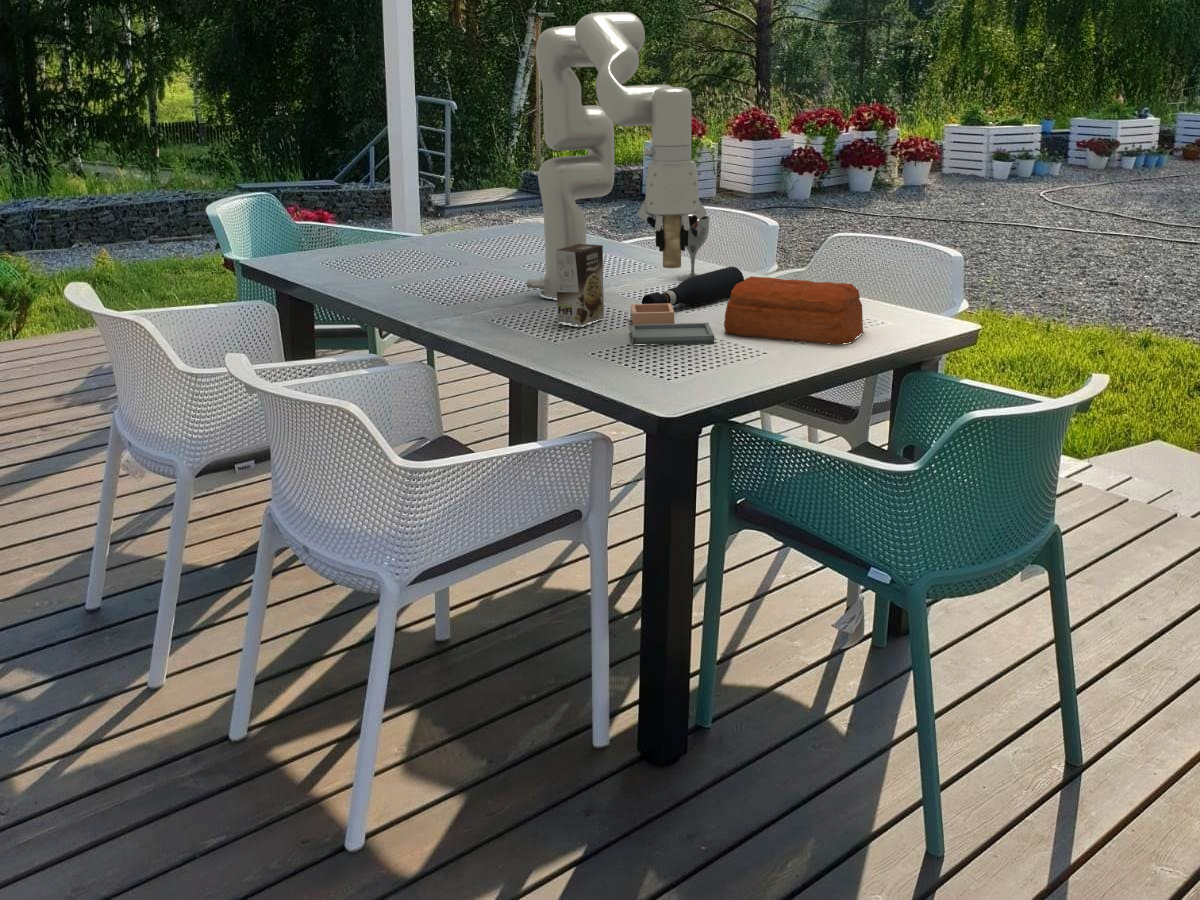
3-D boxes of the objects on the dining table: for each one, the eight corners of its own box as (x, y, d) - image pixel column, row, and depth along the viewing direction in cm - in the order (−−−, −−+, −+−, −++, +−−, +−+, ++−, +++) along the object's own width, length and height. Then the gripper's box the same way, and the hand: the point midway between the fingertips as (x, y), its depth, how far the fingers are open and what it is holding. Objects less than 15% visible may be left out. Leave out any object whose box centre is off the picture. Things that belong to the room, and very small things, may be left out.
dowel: (663, 268, 242) (663, 211, 238) (662, 265, 245) (661, 209, 242) (681, 268, 242) (681, 211, 238) (680, 264, 245) (680, 208, 242)
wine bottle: (749, 285, 283) (664, 309, 262) (731, 299, 287) (646, 323, 267) (735, 261, 283) (649, 283, 263) (718, 275, 288) (632, 298, 268)
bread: (847, 348, 239) (850, 294, 235) (717, 336, 250) (718, 284, 247) (868, 331, 252) (870, 279, 248) (744, 319, 263) (745, 270, 260)
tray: (633, 345, 243) (633, 337, 243) (630, 332, 253) (630, 324, 253) (714, 343, 243) (714, 335, 243) (708, 330, 254) (708, 322, 253)
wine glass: (672, 280, 302) (672, 219, 297) (682, 274, 309) (682, 214, 304) (703, 282, 299) (703, 220, 294) (712, 276, 306) (713, 215, 301)
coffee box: (582, 329, 257) (580, 251, 252) (556, 325, 260) (554, 249, 255) (605, 320, 264) (604, 244, 259) (580, 316, 268) (578, 242, 262)
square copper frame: (633, 328, 256) (632, 313, 255) (630, 318, 265) (630, 304, 264) (674, 327, 257) (674, 312, 256) (670, 318, 265) (671, 303, 264)
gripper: (629, 157, 233) (630, 254, 239) (717, 155, 233) (716, 252, 239) (627, 153, 240) (628, 248, 246) (712, 151, 240) (711, 245, 246)
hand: (671, 249), depth 242 cm, fingers closed on dowel, 3 cm apart
